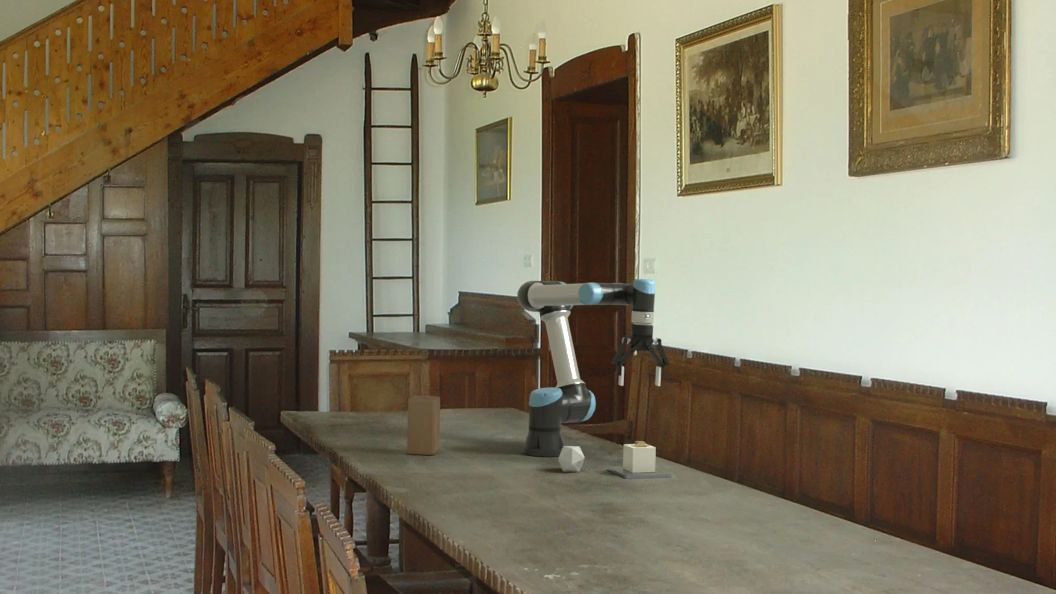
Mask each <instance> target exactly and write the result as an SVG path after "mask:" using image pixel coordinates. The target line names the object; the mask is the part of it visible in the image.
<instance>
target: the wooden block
mask: <svg viewBox="0 0 1056 594" xmlns="http://www.w3.org/2000/svg"><path fill="white" fill-rule="evenodd" d="M440 421H441V397H440V396H438V395H419V394H418V395H417V394H416V395H415V394H414V395H413V396H411V397H409V398H408V401H407V430H406V431H407V432H406V433H407V434H406V437H407V438H406V441H407V442H406V453H407V455H411V456H412V455H415V456H419V455H420V456H434V455H436V454H437V453H438V452H439V450H440V428H441V427H440V425H441V423H440Z"/></svg>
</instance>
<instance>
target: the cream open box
mask: <svg viewBox="0 0 1056 594" xmlns="http://www.w3.org/2000/svg"><path fill="white" fill-rule="evenodd" d="M656 449H657V447H656V446H653V445H651V444H647V443H645V447H635V443H627V444H626V443H625V444H623V451H622V452H623V458H622V463H623V464H622V466H623V469H625V470H628V471H630V472H632V473H640V472H655V467H656V455H657V454H656V452H657V451H656Z"/></svg>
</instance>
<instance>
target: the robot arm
mask: <svg viewBox="0 0 1056 594" xmlns="http://www.w3.org/2000/svg"><path fill="white" fill-rule="evenodd" d="M516 294H517V295H516V299H517V303H518V304H519V305H520V307H521V308H522V309H523V310H526V311H528V312H533V313H538V314H539V318H540V320H541V321H543V322H544V324H545V328H546V332H547V338H548V343H549V348H550V353H551V358H552V363H553V367H554V372H555V377H556V386H554V387H551V386H550V387H540V388H537V389H533V390H532V391H531V392H530V393H529V401H528V432H527V435H526V438H525V441H524V444H523V448H522V453H523V454H524V455H528V456H533V457H543V458H545V457H547V458H549V457H551V458H552V457H559V456H560V453H561V451H562V448H563V446H565V444H564V440H563V436H562V431H561V430H562V427H561V426H562V424H567V423H580V422H584V421H587V420H589V419H590V418H591V417H592V416H593V414H594V412H595V410H596V405H597V403H596V396H595V395H594V392H592V391H591V390H589V389H587V386H586V382H584V380H582V379H581V376H580V371H579V368H578V362H577V358H576V357H577V356H576V353H575V348H574V343H573V337H572V333H571V329H570V324H569V319H568V318H569V316H570V315H571V310H572V308H573V307H574V306H594V305H595V306H597V305H598V306H602V305H604V306H605V305H607V306H609V305H610V306H612V305H613V306H631V308H632V309H631V310H632V311H631V321H630V322H631V327H630V338H629V337H624V336H623V337H622V338H621V342H620V345H619V346H618V348H617V350H616V352H615V355H613V358H612V360H611V364H613V365H615V366H616V376H618V385H619V386H620V387H621V386H622V387H624V383H625V381H624V379H625V378H624V377H625V366H623V365H624V364H625V363H626V362H627V360H628V359H629V358H630V357H631V356H632V355H633V354H634V352H636V351H637V352H641V351H643V352H648V353H649V355H650V356H651V358H652V359H653V360H654V362H655V363H656V364H657V365H658V366H657V365H656V366H655V381H654V382H655V383H654V385H655V386H657V387H661V378H662V377H663V376H664V368H665V367H666V366H669V364H670V362H669V360H668V357H667V355H666V351H665V350H664V348H663V344H662V339H661V338H659V337H656V338H654V325H653V324H654V317H655V314H654V313H655V298H656V297H655V296H656V282H655V280H653V279H649V278H648V279H646V278H634V280H633V281H632V283H622V282H610V283H609V282H594V281H593V282H590V281H589V282H584V283H566V282H564V281H559V280H530V281H526V282H525V283H523V284H521V286H519V288H518V291H517V293H516ZM629 343H630V346H629V347H628V348H627V350H626V347H627V345H628V344H629ZM653 344H654V345H655V347H656V349H657V352H658V353H659V354H657V352H655V350H654V348H653V347H652V345H653ZM625 350H626V352H625V353H624V351H625Z"/></svg>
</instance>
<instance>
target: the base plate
mask: <svg viewBox="0 0 1056 594" xmlns="http://www.w3.org/2000/svg"><path fill="white" fill-rule="evenodd" d="M634 444H635V447H645V444H646V441H642V440H635V441H634ZM607 471H609V472H611V473H613V474H615V475H618V476H619V477H621V478H624V479H625V480H630V479H654V478H655V479H663V478H672V476H673V475H672V473H669V472H668V471H665V470H663V469H660V468H658V467H657V466H655V472H640V473H632V472H630V471H628V470H625V469H623V465H622V466H620V465H619V466H617V465H616V466H607Z"/></svg>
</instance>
